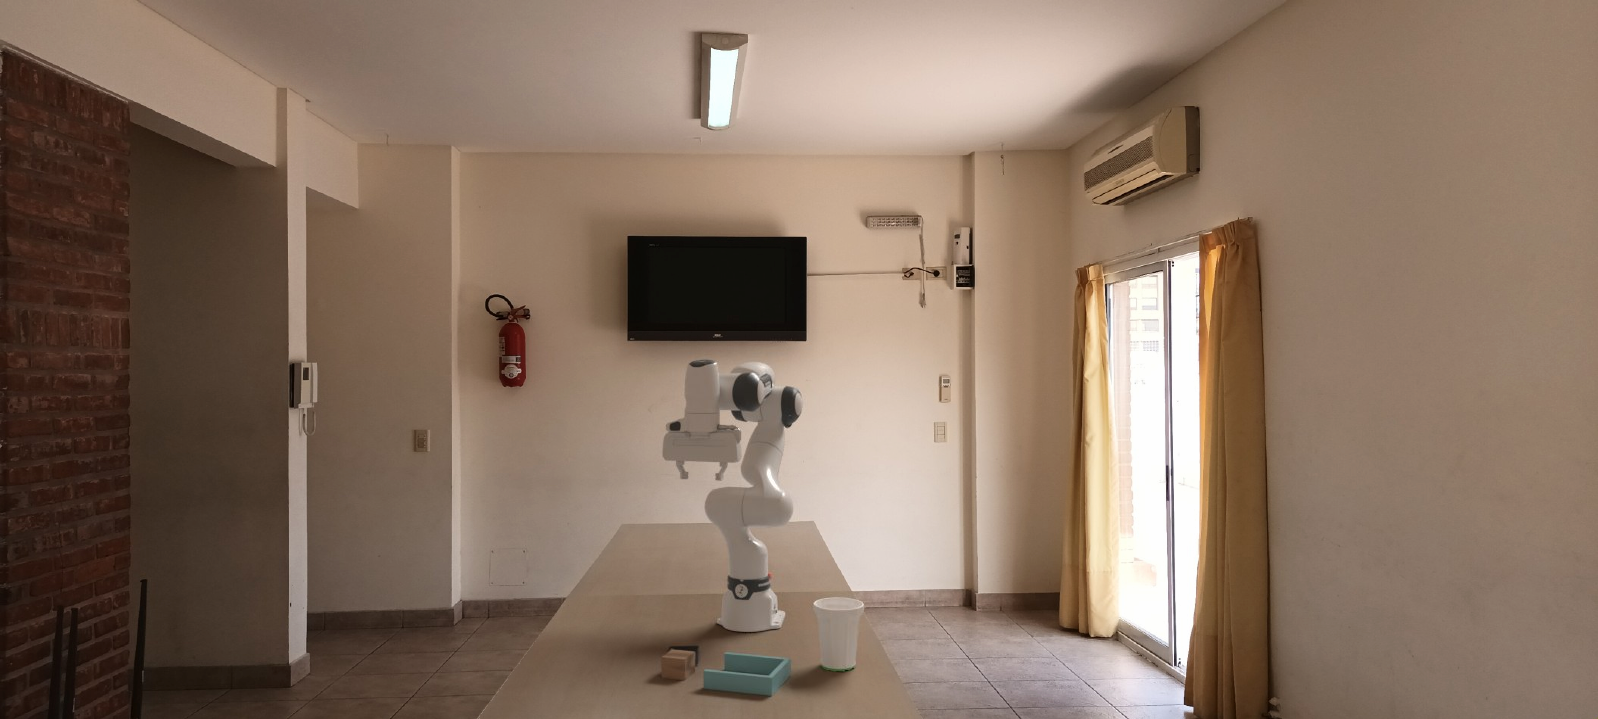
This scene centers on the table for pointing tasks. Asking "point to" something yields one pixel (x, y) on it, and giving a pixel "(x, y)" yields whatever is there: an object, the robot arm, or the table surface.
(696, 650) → the phone
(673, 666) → the walnut block
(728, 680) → the box
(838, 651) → the cup
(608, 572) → the table surface
